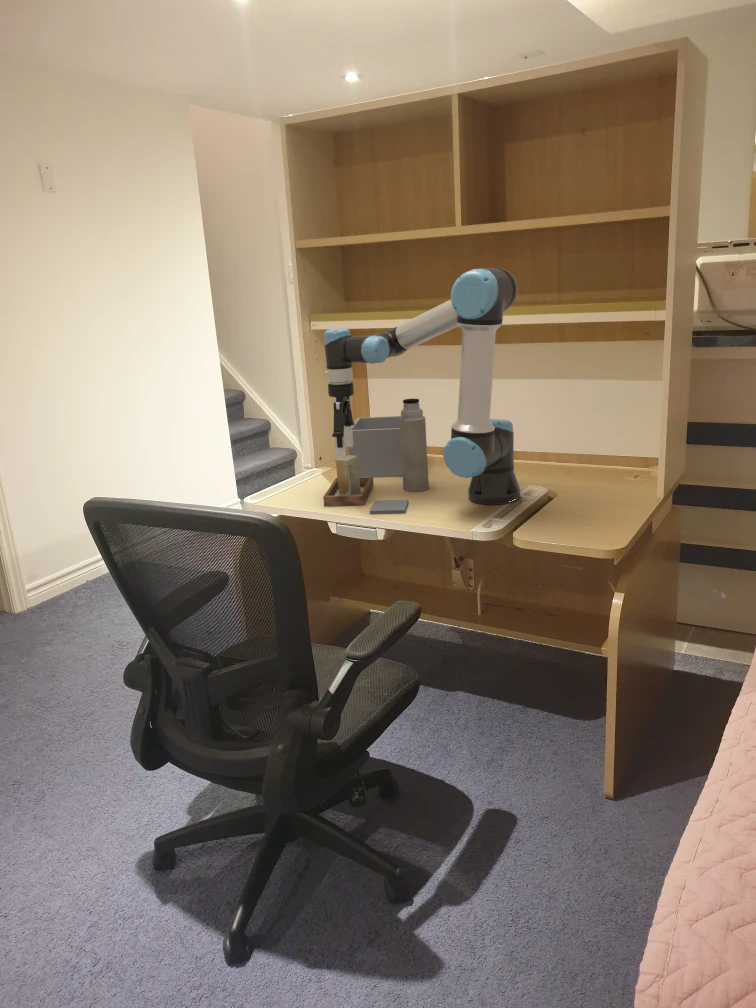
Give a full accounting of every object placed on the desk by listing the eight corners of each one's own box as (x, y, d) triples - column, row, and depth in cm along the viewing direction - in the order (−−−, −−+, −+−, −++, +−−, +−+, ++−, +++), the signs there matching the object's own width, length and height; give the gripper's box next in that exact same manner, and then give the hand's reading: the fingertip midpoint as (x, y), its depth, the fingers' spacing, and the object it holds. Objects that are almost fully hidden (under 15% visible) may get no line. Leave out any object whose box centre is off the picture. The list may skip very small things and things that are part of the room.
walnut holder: (373, 485, 248) (372, 476, 247) (364, 505, 228) (363, 495, 228) (336, 486, 250) (336, 477, 249) (324, 506, 230) (323, 496, 229)
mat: (408, 502, 228) (408, 499, 228) (405, 513, 219) (405, 509, 218) (374, 503, 229) (374, 500, 229) (370, 514, 220) (369, 510, 220)
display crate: (421, 459, 277) (419, 415, 272) (416, 475, 256) (414, 428, 252) (361, 461, 280) (357, 417, 276) (351, 477, 260) (347, 430, 255)
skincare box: (349, 492, 243) (346, 454, 239) (361, 493, 241) (358, 455, 237) (338, 498, 238) (334, 459, 234) (350, 499, 236) (346, 460, 232)
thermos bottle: (415, 483, 247) (410, 396, 239) (434, 487, 242) (429, 398, 234) (398, 489, 242) (392, 400, 234) (416, 493, 237) (411, 402, 228)
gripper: (335, 376, 241) (340, 443, 248) (319, 389, 218) (325, 463, 224) (359, 375, 240) (363, 442, 247) (345, 388, 217) (350, 462, 223)
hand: (345, 452), depth 235 cm, fingers open, 13 cm apart
